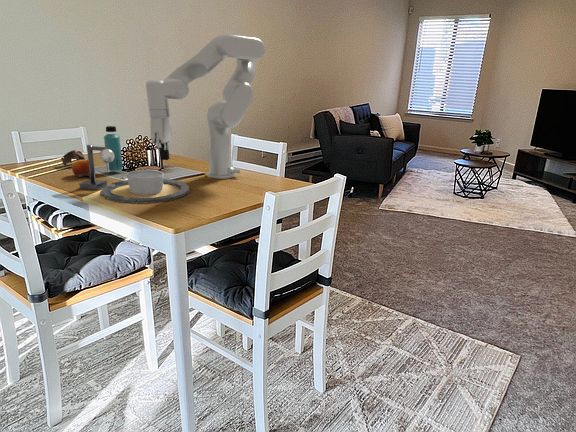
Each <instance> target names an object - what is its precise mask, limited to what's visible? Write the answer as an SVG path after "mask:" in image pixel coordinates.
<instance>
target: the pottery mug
mask: <svg viewBox="0 0 576 432" xmlns="http://www.w3.org/2000/svg"><path fill="white" fill-rule="evenodd" d="M60 159H61V161H62V165H64V167H66V166H67V164H69V163H71V164H73V162H72V160H76V161H78V160H86V158H85V156H84V154H83V152H82V151H80V150H78V151H77V150H76V149H73V150H70V151H68V152H67V153H65V154H64V155H63V156H62V157H61V158H60Z"/></svg>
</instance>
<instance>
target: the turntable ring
mask: <svg viewBox="0 0 576 432" xmlns="http://www.w3.org/2000/svg"><path fill="white" fill-rule="evenodd" d="M127 184H128V185H129V183H128V179H125V180H120V181H116V182H111V183H109V184H108V183H107V186H105V187H103V188H101V191H100V195H102V196H103V198H105V199H107V200H110V201H113V202H118V203H126V204H127V203H128V204H153V203H161V202H162V203H163V202H167V201H168V202H169V201H173V200H176V199H180V198H182V197H185V196H186V195H188V193H190V186H189V185H188V184H187V183H185V182H183V181H180V180H176V179H170V178H163V184H168V185H172V186H176V187H177V188H179V190H178V191H176V192H174V193H170V194H167V195H161V196H155V197H154V196H153V197H131V196H130V197H129V196H123V195H119V194H115V193H113V192H112V191H113V190H115V189H117V188H119V187H123V186H127Z"/></svg>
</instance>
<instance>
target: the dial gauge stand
mask: <svg viewBox="0 0 576 432" xmlns="http://www.w3.org/2000/svg"><path fill="white" fill-rule="evenodd" d="M86 151H87V152H86V153H87V159H88V162H89V171H90V176H89V178H88V179H86V180H84V181H82V182H80V183H79V184H78V186H79V189H81V190H91V191H99V190H102V189H103V187H105V186H107V185H108V180H107V179H106V180H103V179H96V171H95V160H94V151H100V152H99V154H98V155H99V159H100V160H101V162H103V163H105V164H107V167H106V169H107V173H110V171H109V162H112V161H113V160H114V158H115V155H114V153H113V151H112V150H110V149H107V147H105V146H96V145H94V146H93V145H92V144H87V145H86Z"/></svg>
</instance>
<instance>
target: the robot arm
mask: <svg viewBox="0 0 576 432" xmlns="http://www.w3.org/2000/svg"><path fill="white" fill-rule="evenodd" d="M265 53H266V46H265V43H264V42H263V41H262V40H261V39H259V38H257V37H252V36H243V35H237V34H230V33H229V34H228V33H226V34H218V35H216V36H214V37H213V38H212V39H211V40H210V41H209V42H208V43H206V45H205V46H203V47H202V48H201V49H200V50H199V51H198V52H197V53H195V55H194V56H192V57H191V58H189V59H188V60H187V61H185V62H184V63H183V64H181V65H179V66H178V67H177V68H175V70H173V71H172V72H171V73H170V74H169V75H168V76H167V77H166V78H165V79H164V80H161V79H160V80H159V79H154V80H153V79H152V80H148V81H146V82H145V89H146V97H147V103H148V104H147V105H148V112H149V118H150V124H149V125H150V127H149V128H150V140H151V143H152V144H155V145H156V148H158V150H159V157H160V159H159V160H161V161H168V160H169V159H170V152H169V151H170V149H169V148H170V147H169V144H170V141H171V140H172V138H173V137H172V129H171V122H170V117H171V115H170V107H169V99H170V100H183V99H185V98H186V97H187V96H188V95H189V92H190V88H189V86H188V85H189V84H190V83H192V82H193V81H195V80H198V79H199V78H200V79H201V78H203V77H206V76H207V75H209V74H210V73H211V72H213V70H214V69H216V68H217V67H218V65H220V64H221V63H222V62H223V61H224V60H225V59H226V58H232V59H233V58H234V59H235V60H236V67H235V70H234V71H233V73H232V75H231V76H230V77H229V80H228V81H227V82H226V84H225V86H224V88H223V89H222V98H223V99H224V101H225V102H214V103H212V104H211V105H209V107H207V111H206V119H207V125H208V135H209V136H208V138H209V139H208V140H209V141H208V142H209V143H208V146H209V147H208V148H209V150H208V151H209V157H208V158H209V159H208V160H209V161H208V163H209V171H207V172H206V173H205V176H206V177H208V178H209V179H210V178H211V179H217V180H218V179H219V180H223V179H232V178H234V177H235V176H236V175H235V174H239V175H240V174H241V173H242V172H241V171H242V170H241V169H240V168H238V167H237V168H235V167H234V164H232V128H235V127H237V126H238V125H239V124H240V123H241V121H242V120H243V118H244V117H245V115H246V114H247V111H248V110H249V108H250V106H251V105H252V103H253V101H254V99H255V98H254V97H255V93H254V89H253V87H252V85H251V84H252V82H253V81H254V79H255V76H256V62H255V61H259V60H261V59H262V58H263V57H264V55H265Z"/></svg>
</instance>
